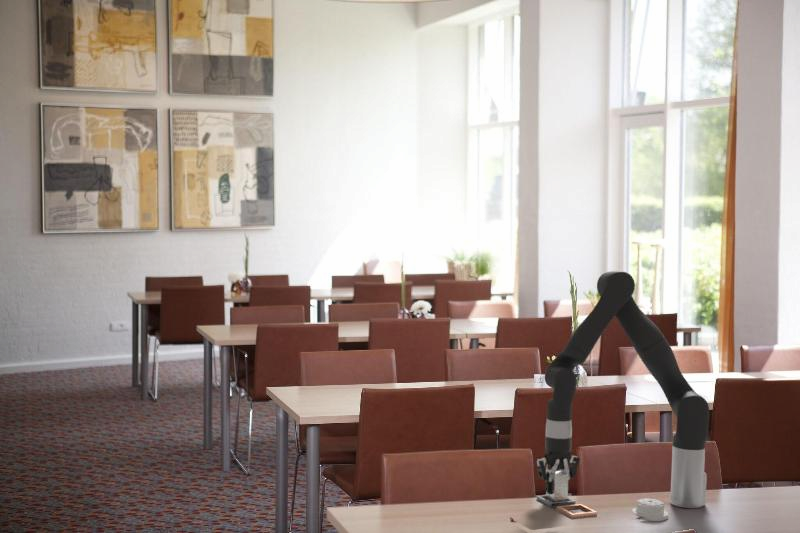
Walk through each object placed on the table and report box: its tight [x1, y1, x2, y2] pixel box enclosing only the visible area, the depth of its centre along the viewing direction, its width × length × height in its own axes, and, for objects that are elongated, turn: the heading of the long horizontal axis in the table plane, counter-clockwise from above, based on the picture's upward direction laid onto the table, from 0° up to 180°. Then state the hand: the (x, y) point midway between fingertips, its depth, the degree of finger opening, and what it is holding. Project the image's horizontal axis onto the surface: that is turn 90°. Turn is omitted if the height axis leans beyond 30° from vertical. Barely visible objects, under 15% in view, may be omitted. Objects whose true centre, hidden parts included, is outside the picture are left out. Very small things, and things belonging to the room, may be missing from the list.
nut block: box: [545, 470, 569, 503], centre depth 296 cm, size 4×4×8 cm
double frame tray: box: [535, 494, 601, 521], centre depth 291 cm, size 9×20×2 cm, turn 23°
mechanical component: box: [631, 497, 669, 522], centre depth 288 cm, size 10×4×10 cm
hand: (556, 492), depth 296 cm, fingers closed on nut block, 4 cm apart
